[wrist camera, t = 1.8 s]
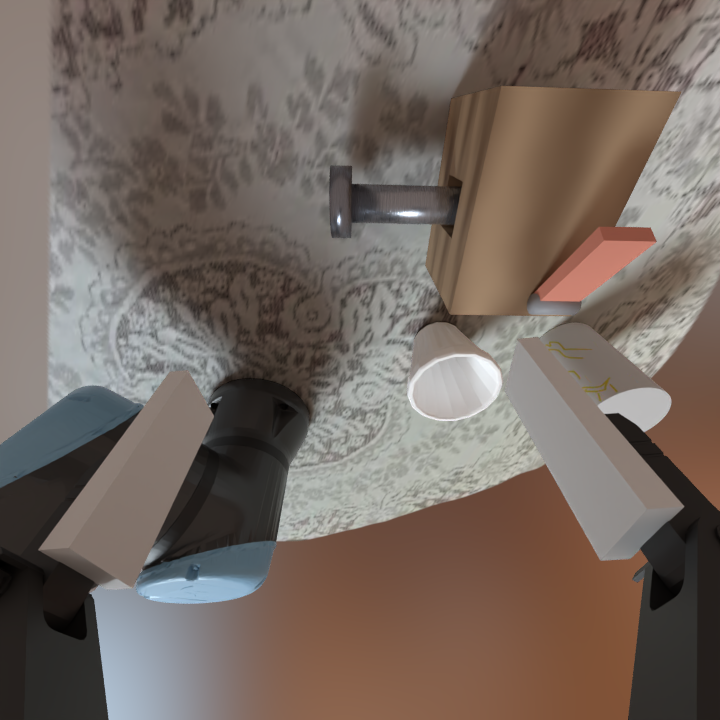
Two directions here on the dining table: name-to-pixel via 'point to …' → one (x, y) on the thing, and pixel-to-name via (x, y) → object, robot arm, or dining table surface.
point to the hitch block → (534, 185)
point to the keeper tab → (589, 269)
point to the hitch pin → (387, 203)
